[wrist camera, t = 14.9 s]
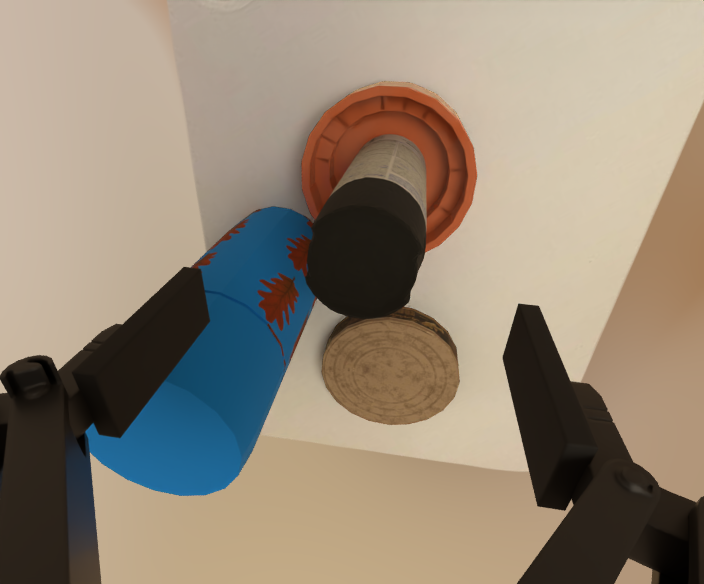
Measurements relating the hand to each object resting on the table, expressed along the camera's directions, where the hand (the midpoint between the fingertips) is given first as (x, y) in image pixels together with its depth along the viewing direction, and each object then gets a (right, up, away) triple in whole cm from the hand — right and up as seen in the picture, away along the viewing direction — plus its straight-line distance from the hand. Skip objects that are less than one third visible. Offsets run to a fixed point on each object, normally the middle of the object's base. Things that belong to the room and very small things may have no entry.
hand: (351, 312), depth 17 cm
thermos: (-8, +5, +28) cm, 29 cm away
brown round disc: (+5, -7, +33) cm, 34 cm away
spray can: (+3, +12, +21) cm, 25 cm away
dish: (+4, +12, +21) cm, 25 cm away
